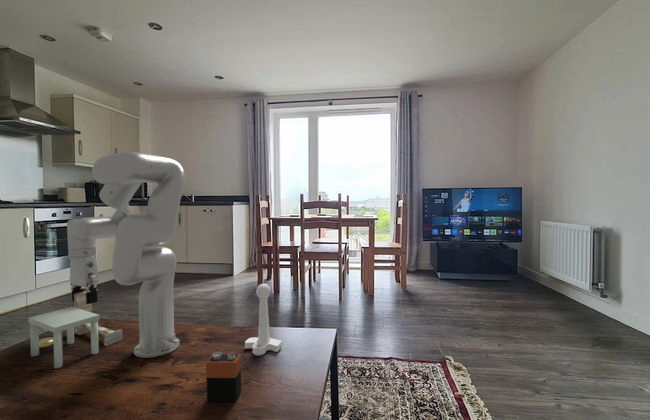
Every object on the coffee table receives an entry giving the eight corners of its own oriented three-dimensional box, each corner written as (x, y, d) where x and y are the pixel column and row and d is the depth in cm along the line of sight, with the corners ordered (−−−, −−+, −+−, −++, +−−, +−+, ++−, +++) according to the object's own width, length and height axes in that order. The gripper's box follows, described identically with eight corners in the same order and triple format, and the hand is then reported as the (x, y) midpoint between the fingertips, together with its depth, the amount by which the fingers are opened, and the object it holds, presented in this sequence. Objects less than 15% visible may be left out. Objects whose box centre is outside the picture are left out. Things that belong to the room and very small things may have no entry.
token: (57, 343, 101) (57, 339, 101) (38, 350, 97) (37, 345, 97) (50, 340, 103) (50, 336, 103) (31, 346, 99) (31, 342, 99)
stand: (100, 352, 94) (99, 314, 94) (55, 369, 85) (54, 327, 84) (72, 341, 102) (72, 306, 102) (29, 355, 93) (28, 317, 92)
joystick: (283, 346, 97) (282, 283, 96) (274, 358, 89) (273, 289, 89) (251, 343, 99) (250, 281, 99) (239, 354, 92) (238, 287, 92)
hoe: (122, 340, 103) (121, 298, 102) (106, 346, 98) (105, 302, 98) (89, 328, 113) (88, 290, 112) (73, 333, 108) (72, 294, 108)
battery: (213, 391, 74) (213, 349, 74) (241, 391, 74) (241, 349, 73) (206, 402, 70) (205, 358, 69) (235, 403, 69) (235, 359, 69)
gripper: (107, 252, 108) (109, 301, 108) (82, 251, 117) (84, 296, 117) (82, 255, 102) (85, 307, 102) (57, 254, 110) (60, 302, 110)
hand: (84, 301), depth 109 cm, fingers open, 9 cm apart
